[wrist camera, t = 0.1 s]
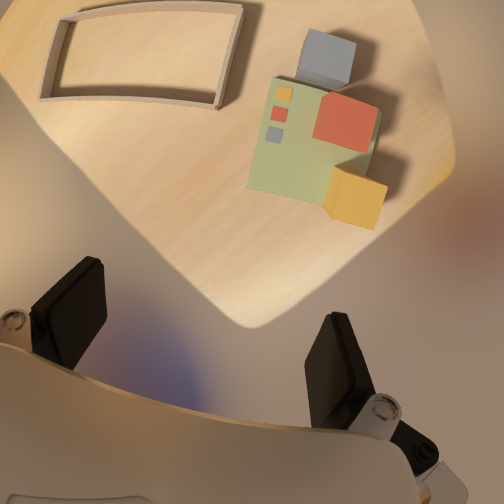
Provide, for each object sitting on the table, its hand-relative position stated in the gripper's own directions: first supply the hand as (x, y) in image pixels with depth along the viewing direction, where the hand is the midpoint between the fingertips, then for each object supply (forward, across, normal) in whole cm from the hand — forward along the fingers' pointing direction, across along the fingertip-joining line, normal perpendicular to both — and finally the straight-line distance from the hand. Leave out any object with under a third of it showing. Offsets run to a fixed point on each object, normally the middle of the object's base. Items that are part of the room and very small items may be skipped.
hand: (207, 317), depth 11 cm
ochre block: (+30, -14, -2) cm, 33 cm away
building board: (+31, -8, -7) cm, 33 cm away
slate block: (+31, -6, -19) cm, 37 cm away
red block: (+30, -10, -11) cm, 33 cm away
